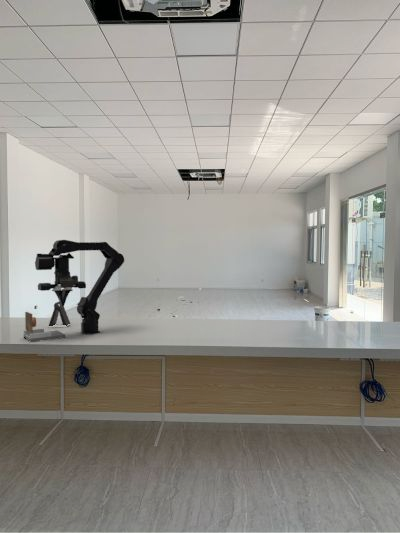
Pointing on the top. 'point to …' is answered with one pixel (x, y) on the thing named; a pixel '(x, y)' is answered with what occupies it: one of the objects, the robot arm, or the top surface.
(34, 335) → the press base
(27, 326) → the press plate
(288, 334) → the top surface
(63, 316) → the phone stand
